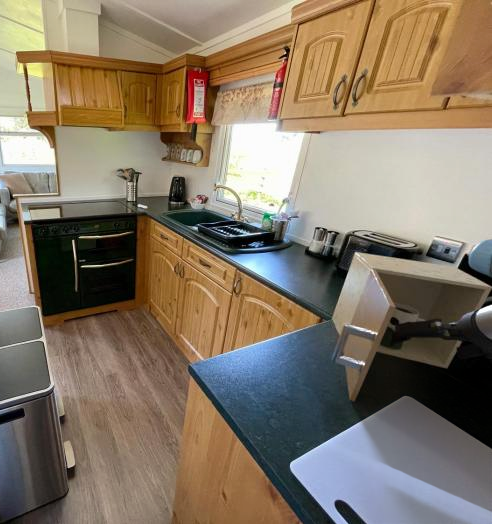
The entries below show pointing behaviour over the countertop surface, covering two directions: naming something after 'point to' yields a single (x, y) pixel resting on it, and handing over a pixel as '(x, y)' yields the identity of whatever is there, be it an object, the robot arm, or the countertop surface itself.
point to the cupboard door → (364, 333)
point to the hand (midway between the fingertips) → (425, 345)
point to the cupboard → (415, 300)
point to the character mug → (399, 316)
